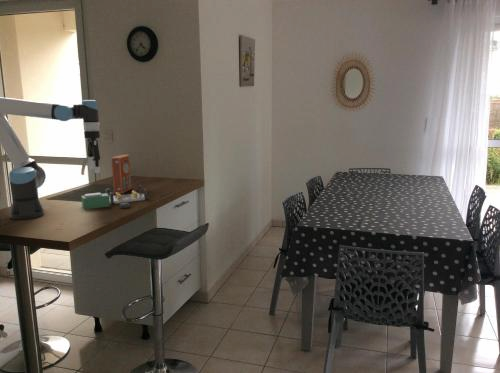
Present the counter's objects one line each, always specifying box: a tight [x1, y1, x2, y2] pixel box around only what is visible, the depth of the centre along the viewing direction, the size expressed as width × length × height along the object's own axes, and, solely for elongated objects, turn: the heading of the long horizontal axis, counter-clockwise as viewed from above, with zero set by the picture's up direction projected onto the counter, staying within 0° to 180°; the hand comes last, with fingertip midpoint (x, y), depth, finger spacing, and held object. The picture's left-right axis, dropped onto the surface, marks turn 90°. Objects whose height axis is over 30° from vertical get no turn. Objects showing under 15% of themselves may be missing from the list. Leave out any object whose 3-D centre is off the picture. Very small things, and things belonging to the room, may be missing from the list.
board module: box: [81, 192, 111, 210], centre depth 243 cm, size 13×7×7 cm, turn 117°
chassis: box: [105, 184, 149, 205], centre depth 257 cm, size 20×13×6 cm, turn 118°
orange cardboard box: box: [111, 154, 132, 194], centre depth 278 cm, size 21×7×15 cm
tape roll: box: [119, 202, 131, 210], centre depth 241 cm, size 5×5×2 cm
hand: (94, 170), depth 241 cm, fingers open, 13 cm apart
